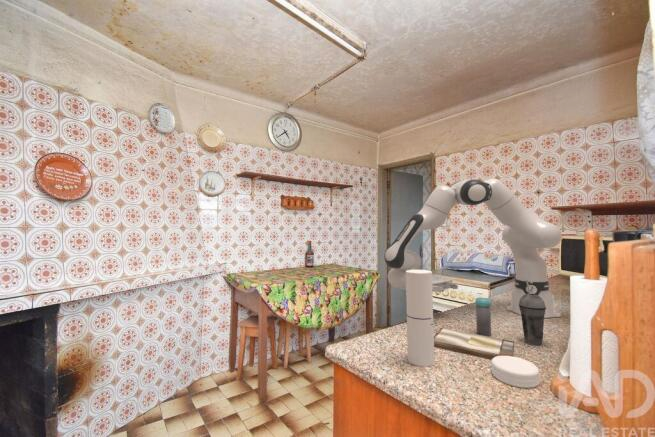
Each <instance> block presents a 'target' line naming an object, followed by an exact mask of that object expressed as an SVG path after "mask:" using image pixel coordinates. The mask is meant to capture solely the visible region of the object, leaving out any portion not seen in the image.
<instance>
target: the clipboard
mask: <svg viewBox="0 0 655 437" xmlns="http://www.w3.org/2000/svg"><path fill="white" fill-rule="evenodd" d="M514 346H515V341H514V340H509V339H504V338H498V337H492V336H482V335H478V334H477V333H470V332H466V331H465V332H464V331H459V330H454V329H448V328H443V327H440V329H438V331H437V332H436V333H434V348H438V349H442V350H443V349H444V350H447V351H451V352H457V353H461V354H464V355H470V356H474V357H479V358H484V359H488V360H490V361H492V359H493V358H494V357H496V356H512V357H514V356H513V355H514V348H515V347H514Z"/></svg>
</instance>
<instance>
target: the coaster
mask: <svg viewBox="0 0 655 437" xmlns="http://www.w3.org/2000/svg"><path fill="white" fill-rule="evenodd" d="M490 361H491V362H490V363H491V373H492V375H493V377H494V378H495V379H497V380H499V381H500V382H502V383H504V384H506V385H510V386H512V387H517V388H522V389H532V388H536V387H538V386H539V384H540V370H539V368H538V366H536V365H535V364H534V363H532V362H530V361H529V360H527V359H524V358H520V357H517V356H513V357H512V356H496V357H494V358H493V359H492V360H490Z"/></svg>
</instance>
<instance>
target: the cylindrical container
mask: <svg viewBox="0 0 655 437" xmlns="http://www.w3.org/2000/svg"><path fill="white" fill-rule="evenodd" d="M432 274H433V271H431V270H427V269H420V270H406V290H405V294H406V296H405V299H406V328H407V329H406V333H407V334H406V336H407V337H406V338H407V339H406V340H407V341H406V342H407V343H406V344H407V345H406V346H407V361H408V362H409V363H410V364H412V365H413V366H418V367H424V368H425V367H431V366H434V364H435V347H434V335H435V333H434V331H435V330H434V300H433V294H434V293H433V291H432Z"/></svg>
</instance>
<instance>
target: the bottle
mask: <svg viewBox="0 0 655 437" xmlns="http://www.w3.org/2000/svg"><path fill="white" fill-rule="evenodd" d="M491 306H492V304H491V299H489V298H486V297H476V298H475V311H476V312H475V313H476V314H475V315H476V316H475V317H476V319H475V320H476V334H477V335H482V336H488V337H492V323H491V322H492V320H491V319H492V318H491Z"/></svg>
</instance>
